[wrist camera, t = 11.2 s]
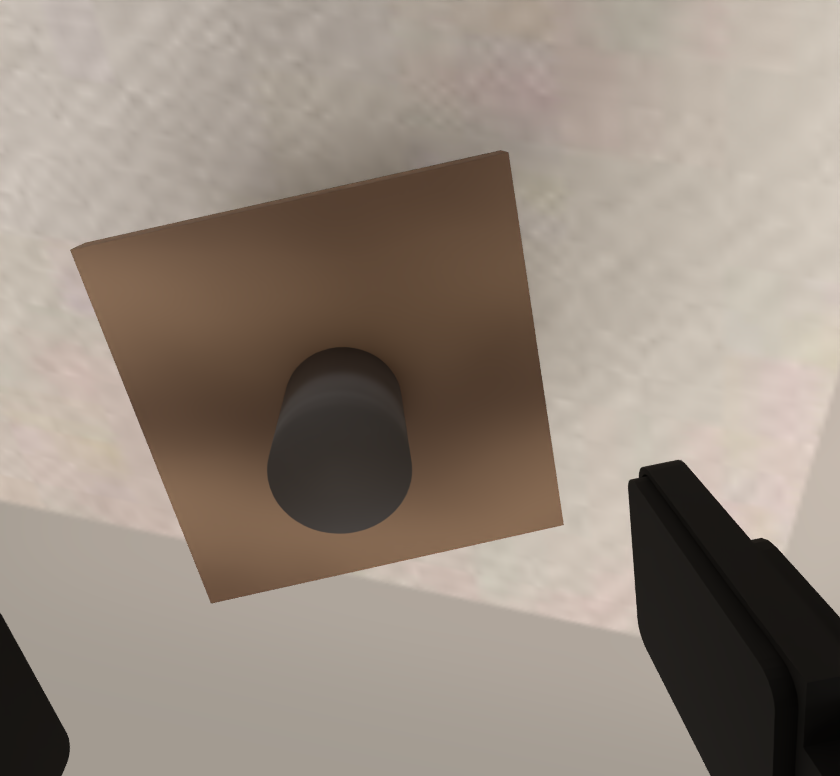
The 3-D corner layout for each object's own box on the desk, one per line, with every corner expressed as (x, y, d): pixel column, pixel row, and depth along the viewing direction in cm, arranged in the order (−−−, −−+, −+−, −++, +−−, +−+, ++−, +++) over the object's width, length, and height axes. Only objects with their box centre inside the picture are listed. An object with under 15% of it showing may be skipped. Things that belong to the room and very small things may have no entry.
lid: (85, 242, 18) (-10, 288, 13) (500, 150, 18) (549, 164, 13) (217, 583, 22) (180, 707, 18) (554, 507, 22) (607, 612, 18)
